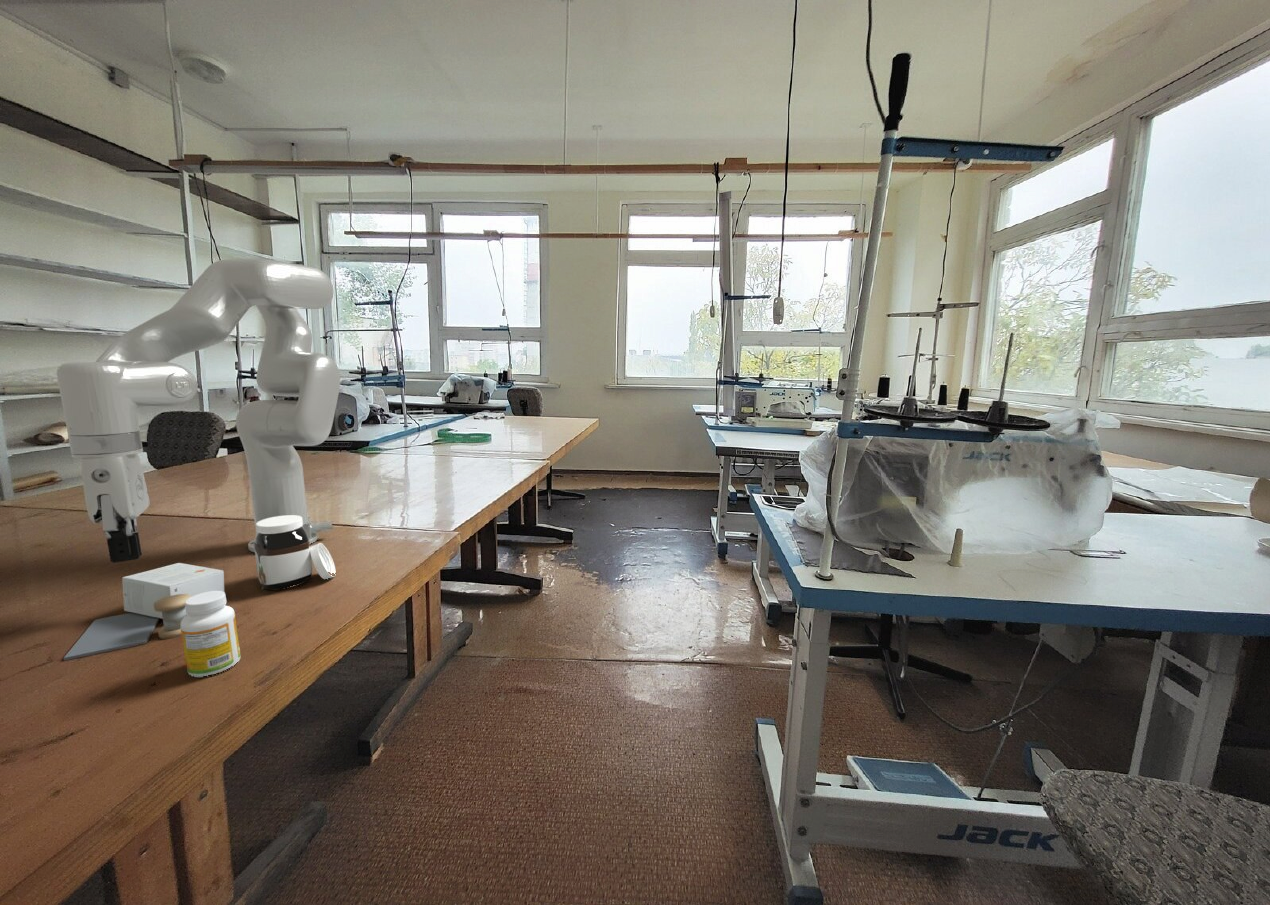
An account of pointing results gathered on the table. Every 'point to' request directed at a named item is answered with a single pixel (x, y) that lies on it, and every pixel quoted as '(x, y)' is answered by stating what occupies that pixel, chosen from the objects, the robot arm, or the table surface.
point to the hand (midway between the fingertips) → (126, 559)
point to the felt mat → (113, 634)
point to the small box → (168, 586)
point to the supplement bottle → (209, 634)
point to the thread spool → (171, 614)
